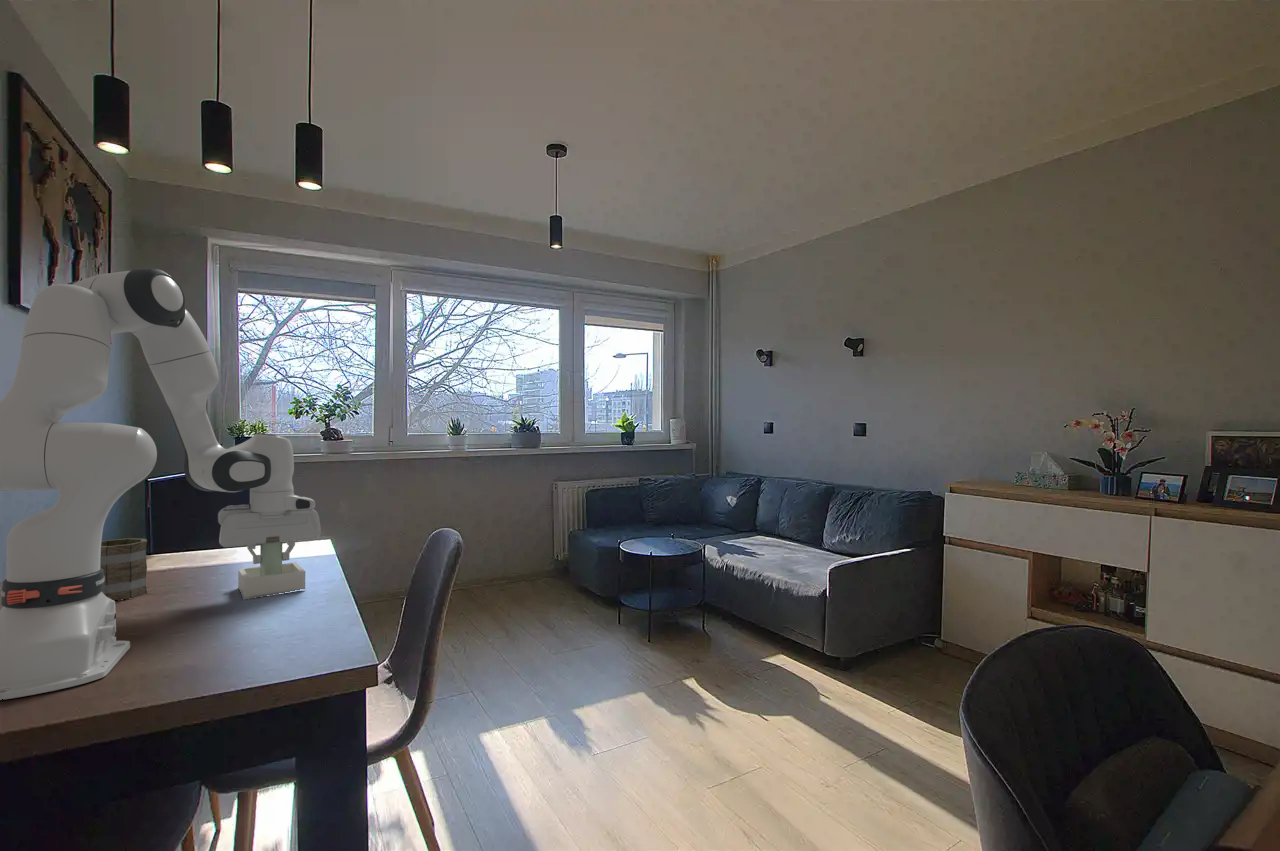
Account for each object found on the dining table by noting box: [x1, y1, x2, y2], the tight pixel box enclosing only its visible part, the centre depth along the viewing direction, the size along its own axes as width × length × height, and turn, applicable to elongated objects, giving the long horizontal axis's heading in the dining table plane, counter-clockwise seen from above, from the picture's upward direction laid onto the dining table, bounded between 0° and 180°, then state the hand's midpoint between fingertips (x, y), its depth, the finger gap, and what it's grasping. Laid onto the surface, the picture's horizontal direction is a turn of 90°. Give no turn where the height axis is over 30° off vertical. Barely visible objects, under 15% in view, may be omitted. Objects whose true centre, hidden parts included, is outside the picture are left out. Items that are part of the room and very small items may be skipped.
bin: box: [237, 561, 306, 600], centre depth 142 cm, size 12×12×5 cm
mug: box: [100, 537, 148, 602], centre depth 137 cm, size 16×11×12 cm
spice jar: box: [259, 536, 283, 576], centre depth 142 cm, size 5×5×10 cm
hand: (271, 561), depth 141 cm, fingers closed on spice jar, 4 cm apart
